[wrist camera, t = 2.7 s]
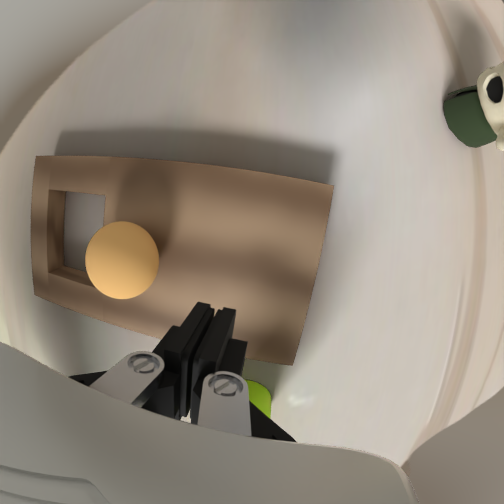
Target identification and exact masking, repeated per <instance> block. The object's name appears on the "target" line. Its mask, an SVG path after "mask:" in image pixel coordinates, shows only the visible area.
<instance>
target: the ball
mask: <svg viewBox="0 0 504 504" xmlns="http://www.w3.org/2000/svg"><path fill="white" fill-rule="evenodd" d="M85 265H86V270H87V273H88V276H89V278H90V280H91V282H92V283H93V285H94V286H95V287H96V288H97V289H98V290H99V291H100V292H102V293H103V294H105V295H107V296H109V297H112V298H116V299H129V298H133V297H136V296H138V295H140V294H141V293H143V292H144V291H146V290H147V289H148V288H149V287H150V285H151V284H152V283H153V281H154V279H155V277H156V275H157V272H158V267H159V254H158V249H157V246H156V244H155V242H154V240H153V238H152V237H151V236H150V234H149V233H148V232H147V231H146V230H145V229H143V228H142V227H140V226H138V225H137V224H134V223H131V222H125V221H119V222H113V223H110V224H107V225H105V226H104V227H102V228H101V229H99V230H98V231H97V232H96V233H95V234H94V236H93V237H92V238H91V240H90V242H89V244H88V246H87V250H86V255H85Z"/></svg>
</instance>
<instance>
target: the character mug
mask: <svg viewBox="0 0 504 504" xmlns="http://www.w3.org/2000/svg"><path fill="white" fill-rule="evenodd" d="M458 92H461V93H458ZM455 93H458V94H457V95H456V96H455V97H454V98H452V99H449V100H447V101H445V102H444V115H445V118H446V121H447V124H448V126H449V129H450V130H451V131H452V132H453V133H454V135H455V136H456V137H457V138H458V139H459V140H460V141H461V142H463V143H464V144H465V145H467V146H469V147H475V148H477V147H480V146H483V145H486V144H488V143H490V142H493V141H495V140H496V147H497V149H499V150H502V151H504V62H502V63H501V64H499V65H498V66H496V67H490V68H487V69H486V70H485V71H484V72H482V73H481V75H480V76H479V77H478V80H477V85H475V86H471V87H466V88H463V89H460V90H457V91H454V92H451V93H449V94H448V95H451V94H455Z"/></svg>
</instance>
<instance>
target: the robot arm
mask: <svg viewBox="0 0 504 504" xmlns="http://www.w3.org/2000/svg"><path fill="white" fill-rule="evenodd" d="M214 313H215V308H211V304H207V303H203V302H197V303H196V305H195V306H194V307H193V309H192V310H191V312H190V313H189V315H188V316H187V317H186V319H185V320H184V322H183V323H182V324H181V326H180V327H179V326H175V325H173V326H172V327H171V328H170V329H169V330H168V332H167V333H166V334H165V336H164V337H163V338H162V340H161V341H160V342H159V344H158V345H157V346H156V348H155V349H154V350H153V352H152V353H151V352H147V351H137V352H133V353H130V354H129V355H127V356H126V357H124V358H123V359H122V360H121V361H120V362H118V363H117V364H116V365H115V366H113V367H112V368H111V369H110V370H108V371H103V372H96V373H89V374H82V375H74V376H69V377H67V376H65V375H63V374H61V373H59V372H57V371H55V370H53V369H51V368H50V367H48V366H46V365H44V364H42V363H41V362H39V361H37V360H35V359H33V358H32V357H30V356H28V355H26V354H24V353H23V352H21V351H19V350H18V349H15V348H13V347H11V346H9V345H7V344H4V343H2V342H0V504H420V503H419V501H418V498H417V496H416V493H415V490H414V488H413V486H412V484H411V482H410V480H409V478H408V477H407V475H406V474H405V472H404V471H403V470H402V469H401V468H400V467H399V466H398V465H397V464H395V463H394V462H392V461H391V460H388V459H386V458H384V457H381V456H379V455H375V454H372V453H368V452H365V451H361V450H355V449H350V448H345V447H336V446H328V445H316V444H306V443H298V442H296V441H295V440H294V439H293V438H292V437H291V436H290V435H289V434H288V433H286V432H285V431H284V430H283V429H281V428H280V427H279V426H278V425H277V424H276V423H274V422H273V421H272V420H271V419H270V418H269V417H267V416H266V415H265V414H264V413H263V412H262V411H261V410H260V409H258V408H257V407H256V406H255V405H254V404H253V403H252V402H251V401H250V400H249V391H248V385H247V382H246V381H245V380H244V379H243V378H242V377H241V375H242V370H243V365H244V360H245V355H246V349H247V344H248V341H243V340H238V339H233V338H232V336H233V329H234V323H235V317H236V309H232V308H227V307H223V309H222V310H220V309H218V310H217V312H216V314H215V316H214ZM189 410H190V418H191V423H188V422H184V421H181V420H180V419H181V417H182V416H184V417H187V415H188V413H189Z"/></svg>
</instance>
